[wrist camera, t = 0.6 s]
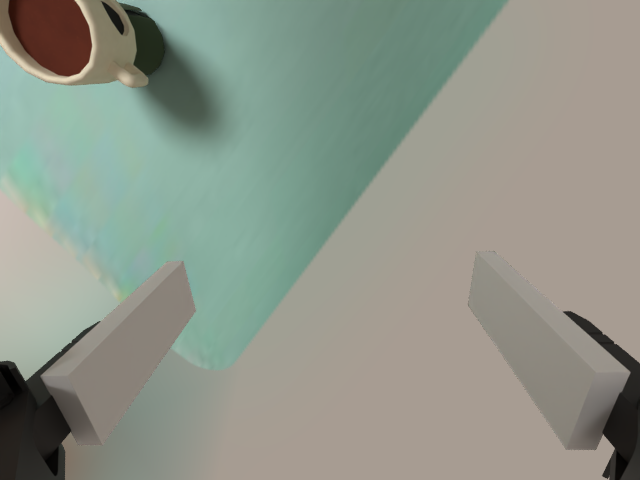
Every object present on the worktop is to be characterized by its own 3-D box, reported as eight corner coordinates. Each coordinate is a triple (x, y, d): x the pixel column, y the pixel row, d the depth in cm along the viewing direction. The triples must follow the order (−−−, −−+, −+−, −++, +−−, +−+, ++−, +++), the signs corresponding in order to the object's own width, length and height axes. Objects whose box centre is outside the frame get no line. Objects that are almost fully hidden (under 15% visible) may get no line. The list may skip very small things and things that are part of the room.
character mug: (199, 53, 33) (143, 44, 22) (166, 107, 35) (100, 124, 24) (98, -37, 29) (-36, -105, 18) (69, 30, 32) (-65, 9, 20)
